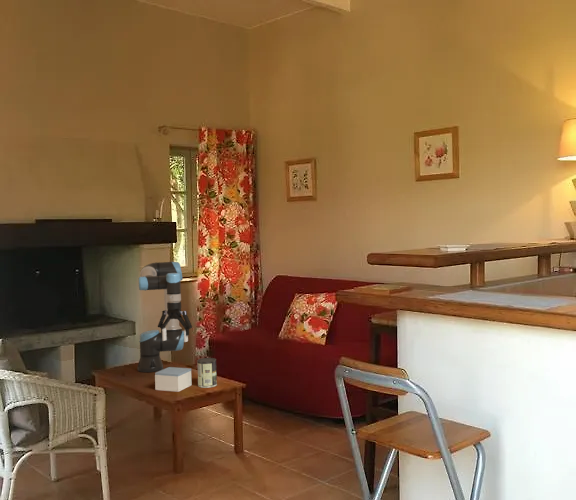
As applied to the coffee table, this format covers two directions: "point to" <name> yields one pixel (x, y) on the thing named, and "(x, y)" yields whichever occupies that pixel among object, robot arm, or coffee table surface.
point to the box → (173, 382)
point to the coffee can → (207, 372)
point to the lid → (173, 371)
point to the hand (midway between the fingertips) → (175, 341)
